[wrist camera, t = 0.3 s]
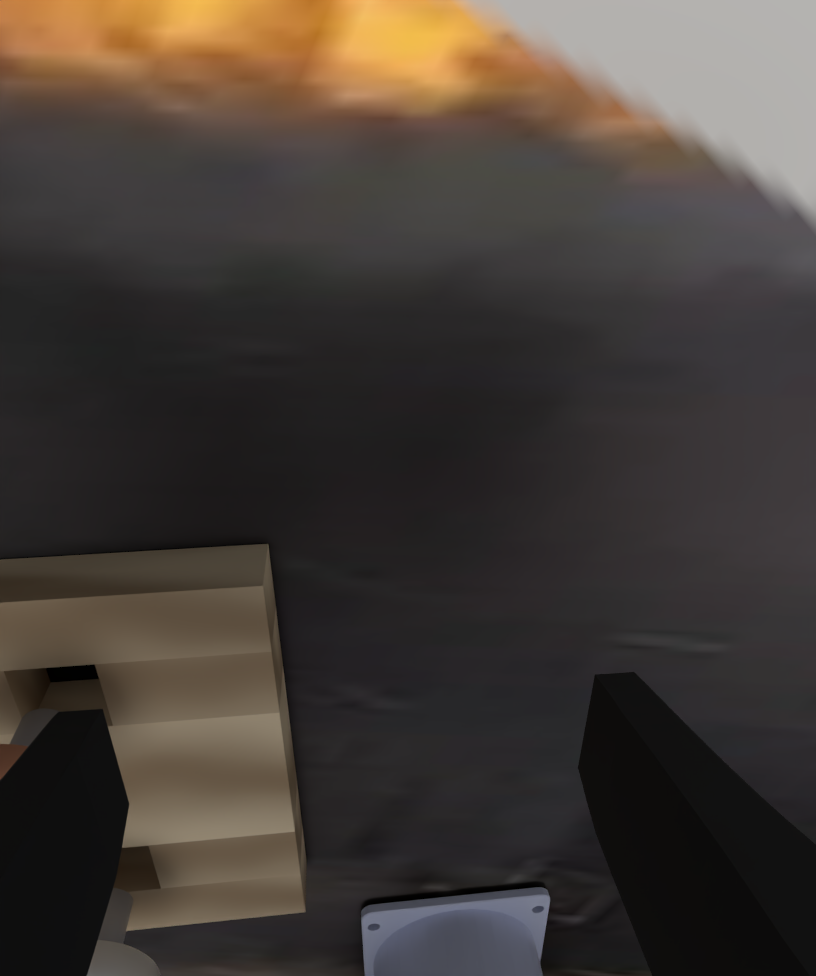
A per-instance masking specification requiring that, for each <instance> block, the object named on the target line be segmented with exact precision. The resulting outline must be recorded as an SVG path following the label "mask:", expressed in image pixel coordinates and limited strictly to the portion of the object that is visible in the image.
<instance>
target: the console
mask: <svg viewBox="0 0 816 976" xmlns="http://www.w3.org/2000/svg"><path fill="white" fill-rule="evenodd" d="M93 664H95V667H96V670H97V674H98V677H99V679H90V680H77V681H63V682H50V679H49V676H48V673H47V671H46V668H52V667H66V666H80V665H93ZM36 709H54V710H57V711H60V712H64V711H78V710H93V709H103V712H104V715H105V719H106V722H107V726H108V729H109V733H110V737H111V740H112V744H113V747H114V751H115V754H116V758H117V762H118V765H119V769H120V772H121V776H122V779H123V783H124V786H125V790H126V794H127V797H128V801H129V809H128V815H127V821H126V827H125V832H124V838H123V844H122V849H121V854H120V860H119V865H118V870H117V875H116V880H115V883H114V887H113V888H118V889H122V890H124V891H126V892H128V893H129V894H130V895H131V896H132V898H133V904H132V909H131V913H130V917H129V921H128V925H127V930H126V931H130V930H139V929H149V928H158V927H168V926H178V925H187V924H197V923H206V922H216V921H225V920H235V919H244V918H254V917H264V916H273V915H283V914H292V913H302V912H305V908H306V866H307V860H306V852H305V843H304V835H303V827H302V819H301V810H300V802H299V794H298V785H297V777H296V769H295V761H294V752H293V744H292V736H291V728H290V719H289V711H288V703H287V695H286V686H285V678H284V670H283V662H282V653H281V645H280V637H279V629H278V620H277V612H276V604H275V595H274V587H273V579H272V571H271V562H270V554H269V546H268V544H255V545H238V546H221V547H204V548H188V549H171V550H154V551H137V552H120V553H103V554H86V555H69V556H52V557H36V558H19V559H2V560H0V744H10V742H11V740H12V738H13V736H14V734H15V731H16V729H17V727H18V725H19V723H20V721H21V719H22V717H23V716H24V715H25V714H27V713H28V712H30V711H32V710H36Z"/></svg>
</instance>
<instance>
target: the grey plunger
mask: <svg viewBox="0 0 816 976" xmlns="http://www.w3.org/2000/svg"><path fill="white" fill-rule="evenodd" d="M132 904H133V898H132V896H131V895H130V894H129V893H128V892H126V891H124V890H122V889H118V888H113V890H112V893H111V897H110V900H109V904H108V907H107V910H106V914H105V917H104V920H103V924H102V927H101V931H100V934H99V937H98V941H97V944H96V947H95V951H94V954H93V957H92V960H91V964H90V967H89V970H88V974H87V976H160V971H159V968H158V966H157V965H156V963H155V962H154V961H153V960H152V959H151V958H150V957H149V956H148V955H146V954H145V953H143V952H141V951H139V950H138V949H135V948H133V947H131V946H128V945H124V944H123V942H124V938H125V934H126V930H127V925H128V921H129V917H130V913H131V909H132Z"/></svg>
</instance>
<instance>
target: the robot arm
mask: <svg viewBox="0 0 816 976" xmlns="http://www.w3.org/2000/svg"><path fill="white" fill-rule="evenodd" d="M578 769H579V773H580V777H581V780H582V784H583V788H584V792H585V796H586V799H587V803H588V807H589V810H590V814H591V817H592V821H593V824H594V828H595V831H596V835H597V837H598V840H599V843H600V845H601V848H602V850H603V853H604V856H605V858H606V861H607V863H608V866H609V868H610V871H611V873H612V876H613V878H614V881H615V883H616V886H617V889H618V891H619V894H620V896H621V898H622V901H623V903H624V906H625V908H626V911H627V913H628V916H629V918H630V921H631V923H632V926H633V928H634V931H635V933H636V936H637V938H638V941H639V943H640V946H641V948H642V951H643V953H644V956H645V958H646V961H647V963H648V966H649V968H650V971H651V973H652V976H816V845H815V844H814V843H813V842H812V841H811V840H810V839H808V838H807V837H806V836H805V835H804V834H803V833H801V832H800V831H799V830H798V829H797V828H796V827H795V826H793V825H792V824H791V823H790V822H789V821H788V820H786V819H785V818H784V817H783V816H782V815H781V814H780V813H779V812H777V811H776V810H775V809H774V808H773V807H772V806H771V805H770V804H769V803H768V802H766V801H765V800H764V799H763V798H762V797H761V796H760V795H759V794H758V793H757V792H756V791H755V790H754V789H752V788H751V787H750V786H749V785H748V784H747V783H746V782H745V781H744V780H743V779H742V778H741V777H740V776H739V775H738V774H737V773H735V772H734V771H733V770H732V769H731V768H730V767H729V766H728V765H727V764H726V763H725V762H724V761H723V760H722V759H721V758H720V757H719V756H718V755H717V754H716V753H715V752H714V751H713V750H711V749H710V748H709V747H708V746H707V745H706V744H705V743H704V742H703V741H702V740H701V739H700V738H699V737H698V736H697V735H696V734H695V733H694V732H693V731H692V730H691V729H690V728H689V727H688V726H687V725H686V724H685V723H684V722H683V721H682V720H681V719H680V718H679V717H678V716H677V715H676V714H675V713H674V712H673V711H672V710H671V709H670V708H669V707H668V706H667V705H666V704H665V703H664V702H663V700H662V699H661V698H660V697H659V696H658V695H657V694H656V693H655V692H654V691H653V690H652V689H651V688H650V687H649V686H648V685H647V684H646V683H645V682H644V681H643V680H642V679H641V678H639V677H638V676H637V675H636V674H635V673H634V672H629V673H615V674H600V675H595V678H594V683H593V689H592V694H591V700H590V705H589V711H588V716H587V722H586V727H585V732H584V738H583V743H582V749H581V754H580V760H579V765H578ZM128 809H129V801H128V797H127V794H126V790H125V786H124V783H123V779H122V776H121V772H120V769H119V765H118V762H117V758H116V754H115V751H114V747H113V744H112V740H111V737H110V733H109V729H108V726H107V722H106V719H105V715H104V712H103V709H93V710H78V711H64V712H58V713H57V714H56V715H55V716H54V717H53V718H52V719H51V720H50V721H49V722H48V723H47V725H46V726H45V727H44V728H43V729H42V731H41V732H40V733H39V734H38V735H37V737H36V738H35V739H34V740H33V741H32V743H31V744H30V745H29V746H28V747H27V749H26V750H25V751H24V752H23V753H22V755H21V756H20V757H19V758H18V759H17V761H16V762H15V763H14V764H13V765H12V767H11V768H10V769H9V770H8V771H7V773H6V774H5V775H4V776H3V777H2V778H1V780H0V976H87V974H88V970H89V967H90V964H91V960H92V957H93V954H94V951H95V947H96V944H97V941H98V937H99V934H100V931H101V927H102V924H103V920H104V917H105V914H106V910H107V907H108V904H109V900H110V897H111V893H112V890H113V887H114V883H115V880H116V875H117V870H118V865H119V860H120V854H121V849H122V844H123V838H124V832H125V827H126V821H127V815H128ZM549 905H550V897H549V893H548V890H547V889H545V888H542V887H534V888H524V889H514V890H505V891H495V892H486V893H476V894H467V895H457V896H447V897H438V898H428V899H419V900H409V901H400V902H390V903H380V904H372V905H368V906H366V907H364V908H363V909H362V911H361V924H362V940H363V956H364V971H365V976H543V973H542V969H541V965H540V960H541V954H542V948H543V942H544V935H545V929H546V923H547V917H548V911H549Z"/></svg>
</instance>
